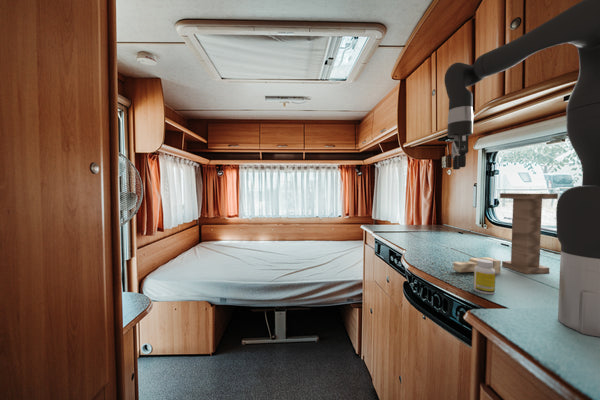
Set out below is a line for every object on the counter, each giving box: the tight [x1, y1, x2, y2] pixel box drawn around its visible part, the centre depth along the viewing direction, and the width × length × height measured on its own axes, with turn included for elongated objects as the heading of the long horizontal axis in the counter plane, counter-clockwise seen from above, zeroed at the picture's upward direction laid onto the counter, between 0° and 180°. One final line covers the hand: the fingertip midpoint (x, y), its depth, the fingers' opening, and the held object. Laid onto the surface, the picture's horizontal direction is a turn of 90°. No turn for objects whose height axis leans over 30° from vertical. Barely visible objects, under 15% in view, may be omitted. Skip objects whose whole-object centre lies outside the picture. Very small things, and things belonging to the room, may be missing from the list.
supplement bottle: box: [473, 259, 496, 295], centre depth 76 cm, size 5×5×10 cm
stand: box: [499, 192, 559, 275], centre depth 98 cm, size 12×12×31 cm
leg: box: [452, 256, 502, 275], centre depth 95 cm, size 17×5×5 cm, turn 98°
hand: (458, 168), depth 86 cm, fingers open, 8 cm apart
